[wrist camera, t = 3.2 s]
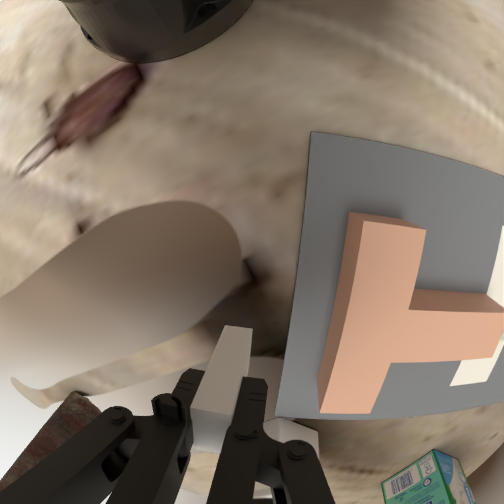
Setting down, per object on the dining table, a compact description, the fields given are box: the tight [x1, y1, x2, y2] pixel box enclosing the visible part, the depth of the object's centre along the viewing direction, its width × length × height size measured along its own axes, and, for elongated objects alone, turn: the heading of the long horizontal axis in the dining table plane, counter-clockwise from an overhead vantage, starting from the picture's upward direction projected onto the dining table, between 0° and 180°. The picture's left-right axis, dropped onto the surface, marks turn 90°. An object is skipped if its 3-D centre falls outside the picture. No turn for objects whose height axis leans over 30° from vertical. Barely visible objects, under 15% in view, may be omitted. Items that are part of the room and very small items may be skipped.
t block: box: [317, 211, 504, 414], centre depth 18 cm, size 14×14×4 cm
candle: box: [0, 392, 101, 491], centre depth 19 cm, size 8×7×20 cm
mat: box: [274, 132, 504, 420], centre depth 20 cm, size 24×36×1 cm, turn 86°
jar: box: [252, 417, 320, 504], centre depth 20 cm, size 9×8×12 cm
